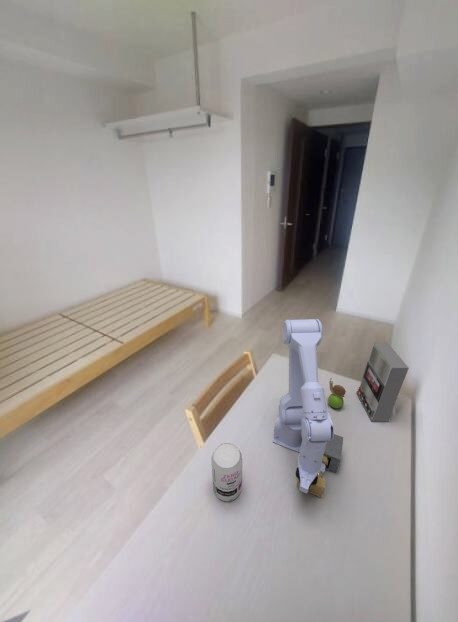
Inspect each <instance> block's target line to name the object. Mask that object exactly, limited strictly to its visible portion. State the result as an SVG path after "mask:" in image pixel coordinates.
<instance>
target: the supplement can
mask: <svg viewBox="0 0 458 622" xmlns="http://www.w3.org/2000/svg"><path fill="white" fill-rule="evenodd" d="M210 459H211V460H210V461H211V473H212V474H211V475H212V486H213V489H212V490H213V491H214V492H213V493H214V495H215V496H216V497H217V499H219V500H221V501H223V502H232V501H234V500H236V499H237V498H238V497H239V496H240V495H241V492H242V489H243V454H242V452H241V451H240V449H239V448H238V446H236V445H235V444H234V443H231V442H224V443H220V444H219V445H217V446H216V447H215V449H214V451H213V452H212V454H211V458H210Z"/></svg>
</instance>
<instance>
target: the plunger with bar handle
mask: <svg viewBox="0 0 458 622" xmlns="http://www.w3.org/2000/svg"><path fill="white" fill-rule="evenodd" d="M328 459H329V457H326V456H323V459H322V463H323V464H325V466H327V465H328ZM322 474H323V472H319V473H318V474H317V477H318V481H317V484H316V485H311V486H310V487H309V489H308V493H310V494H311V495H314V496H317V497H319V498H323V495H324V492H325V488H326V482H327V479H325V478H323V477H322V476H323V475H322ZM296 487H297V488H298V489H300V482H299V479H298V478H297V482H296Z"/></svg>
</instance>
